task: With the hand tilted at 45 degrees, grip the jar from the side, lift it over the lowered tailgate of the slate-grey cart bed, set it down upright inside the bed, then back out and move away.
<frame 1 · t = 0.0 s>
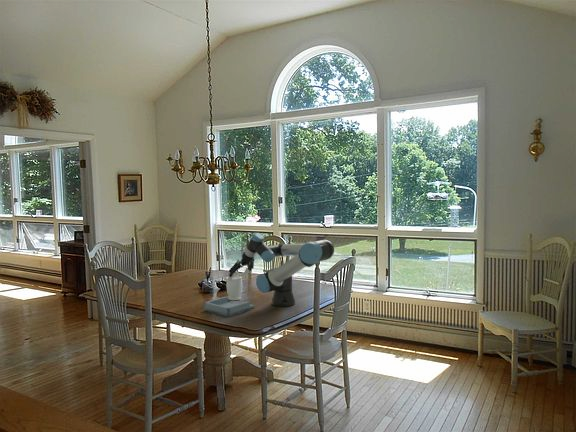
hand: (236, 278, 289), 15 cm above the table, tool tilted 35°, fingers open, 13 cm apart
cart bed: (227, 310, 269), on the table
jar: (234, 299, 296), on the table
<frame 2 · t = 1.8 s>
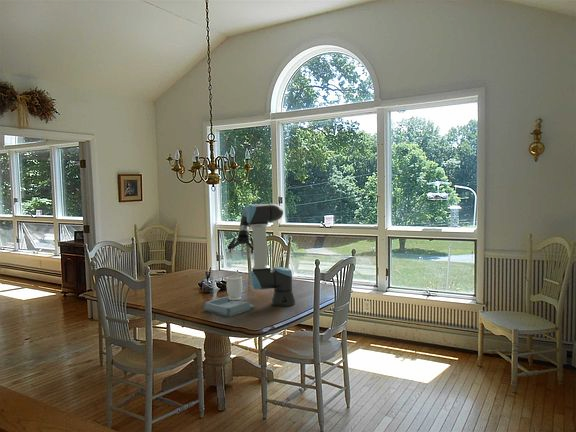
hand: (240, 257, 305), 27 cm above the table, tool tilted 45°, fingers open, 13 cm apart
nothing on the table moved.
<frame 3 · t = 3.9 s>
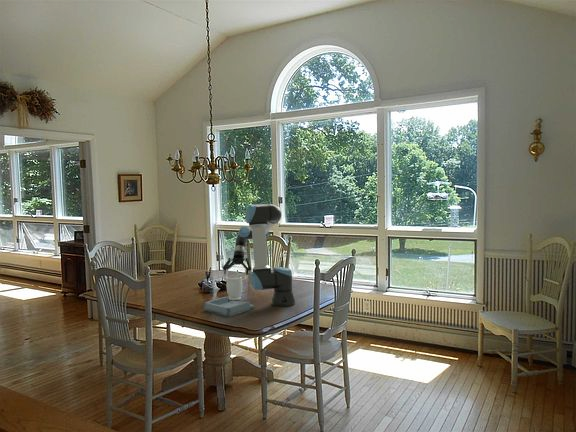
hand: (235, 278, 301), 13 cm above the table, tool tilted 45°, fingers open, 13 cm apart
nothing on the table moved.
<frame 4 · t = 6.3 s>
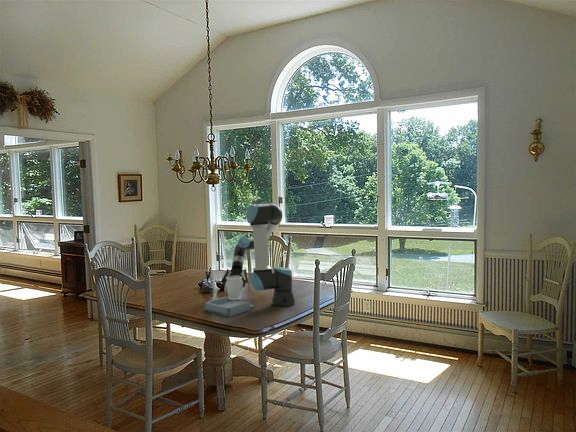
hand: (233, 291, 292), 6 cm above the table, tool tilted 45°, fingers closed on jar, 10 cm apart
jar: (234, 299, 296), on the table, touching gripper
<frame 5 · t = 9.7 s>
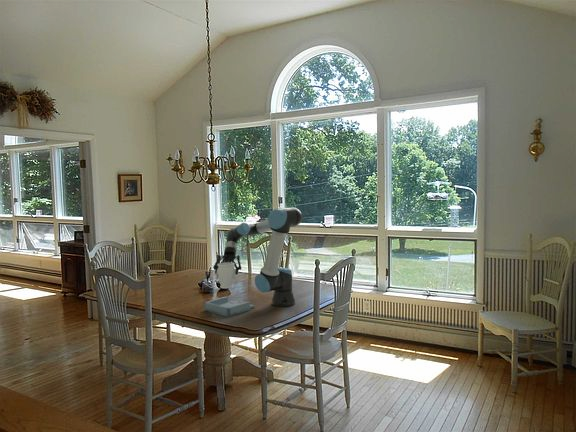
hand: (225, 278, 271), 19 cm above the table, tool tilted 45°, fingers closed on jar, 10 cm apart
jar: (227, 287, 274), point 13 cm above the table, touching gripper
when the fingers open (9 cm above the table, at t = 13.1 s): jar drops 1 cm, resting on cart bed.
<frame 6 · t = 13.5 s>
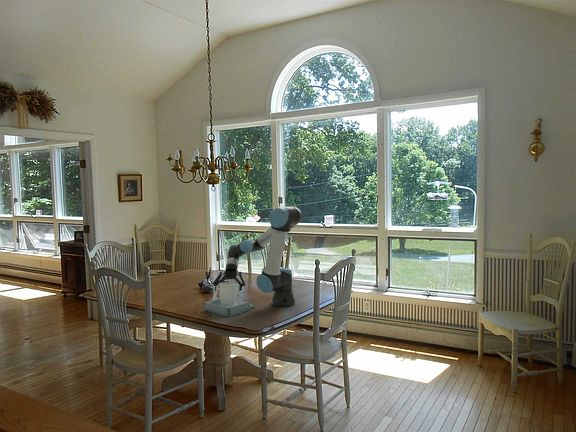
hand: (227, 295, 267), 10 cm above the table, tool tilted 45°, fingers open, 13 cm apart
jar: (228, 307, 270), point 1 cm above the table, touching cart bed
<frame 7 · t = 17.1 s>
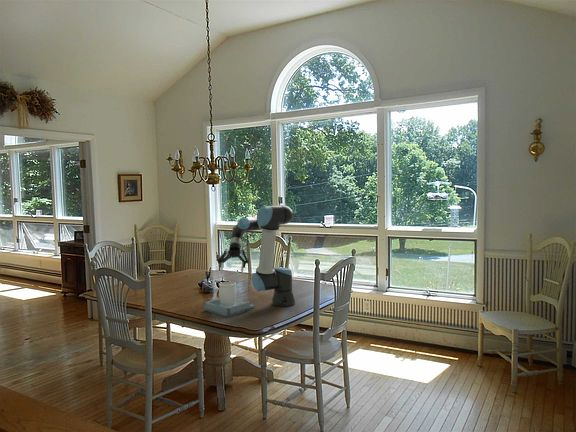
hand: (231, 271, 282), 21 cm above the table, tool tilted 45°, fingers open, 13 cm apart
nothing on the table moved.
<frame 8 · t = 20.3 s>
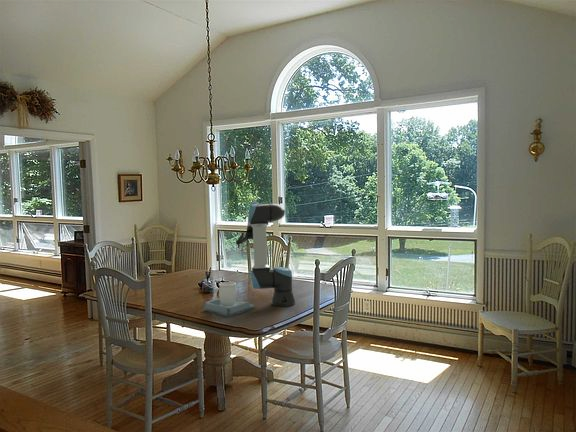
hand: (248, 251, 308), 30 cm above the table, tool tilted 45°, fingers open, 13 cm apart
nothing on the table moved.
at the end: jar inside the target area on the cart bed (0.5 cm from its centre), point 1.3 cm above the cart bed's base; jar tilted 0°; the gripper is holding nothing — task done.
